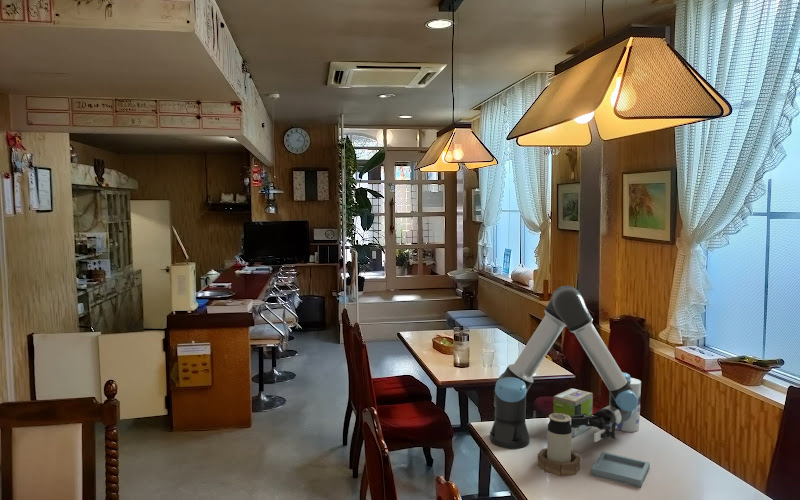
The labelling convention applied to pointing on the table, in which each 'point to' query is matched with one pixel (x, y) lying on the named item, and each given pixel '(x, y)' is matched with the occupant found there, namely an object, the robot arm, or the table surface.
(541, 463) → the mug holder
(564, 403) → the tea box
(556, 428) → the travel mug
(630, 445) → the table surface
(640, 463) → the tray
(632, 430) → the container
